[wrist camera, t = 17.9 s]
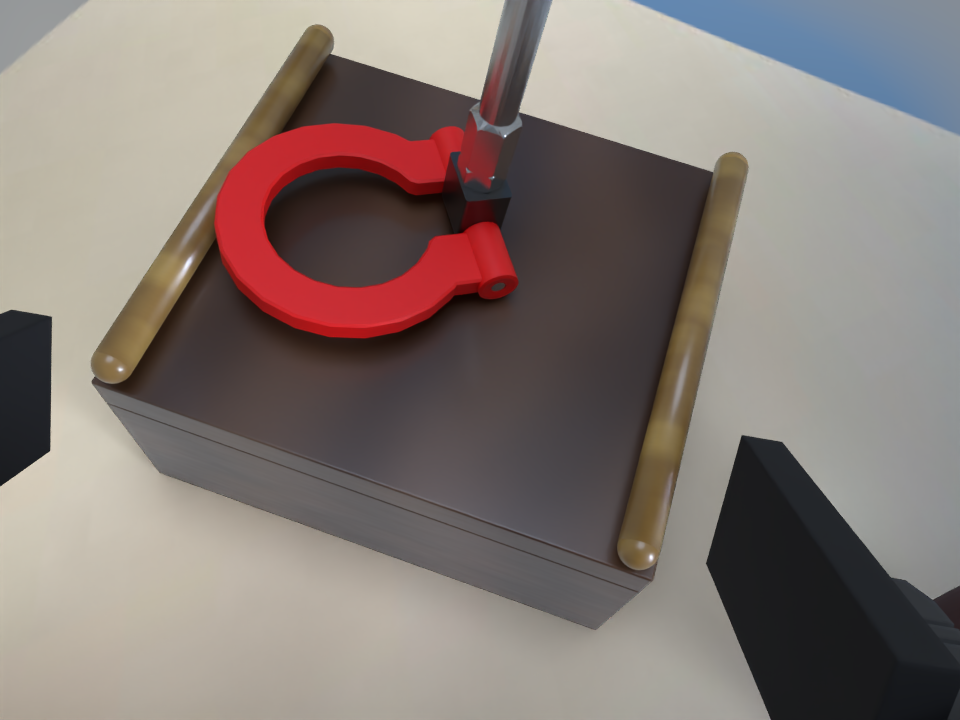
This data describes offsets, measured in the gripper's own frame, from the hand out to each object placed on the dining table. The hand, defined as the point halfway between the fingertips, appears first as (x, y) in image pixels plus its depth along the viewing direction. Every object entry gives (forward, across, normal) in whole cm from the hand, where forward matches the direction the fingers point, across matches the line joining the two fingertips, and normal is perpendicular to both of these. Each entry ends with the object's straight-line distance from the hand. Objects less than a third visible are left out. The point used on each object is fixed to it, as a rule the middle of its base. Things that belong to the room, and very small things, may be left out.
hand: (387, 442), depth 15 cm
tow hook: (+13, -3, +1) cm, 14 cm away
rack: (+19, 0, -5) cm, 20 cm away
